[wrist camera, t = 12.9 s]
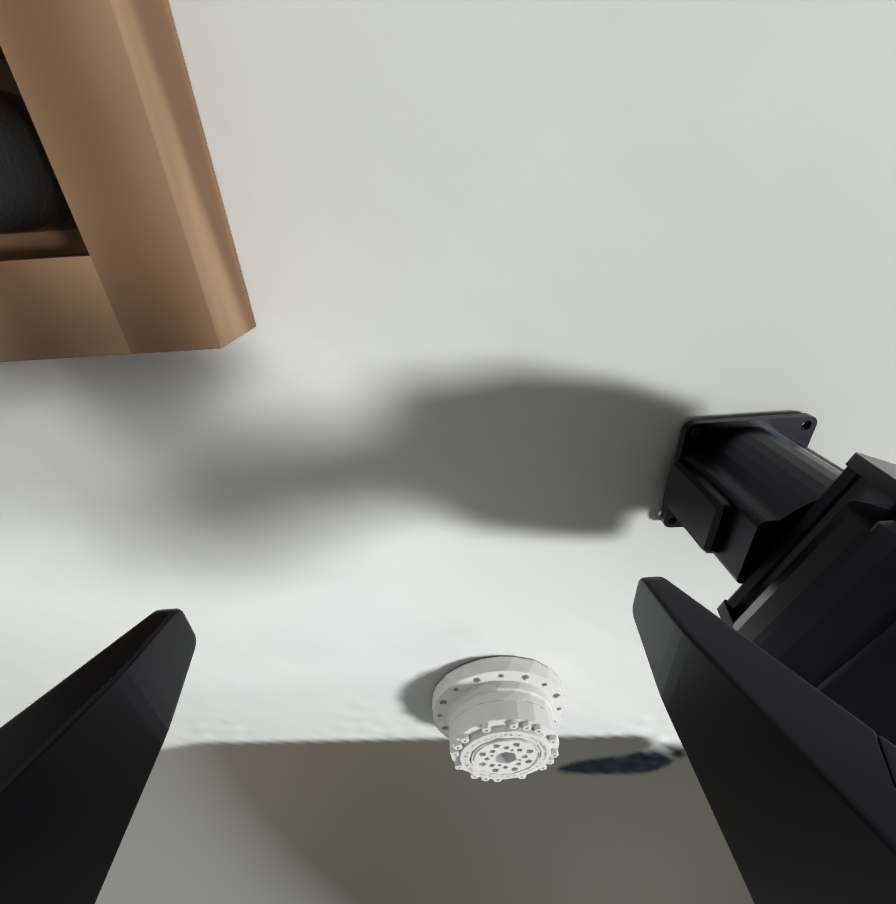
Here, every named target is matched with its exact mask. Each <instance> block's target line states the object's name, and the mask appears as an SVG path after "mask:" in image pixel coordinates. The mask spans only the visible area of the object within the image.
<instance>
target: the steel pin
mask: <svg viewBox="0 0 896 904" xmlns="http://www.w3.org/2000/svg"><path fill="white" fill-rule="evenodd" d="M76 227H77V224H76V222H75V220H74V217H73V215H72V213H71V210H70V208H69V206H68V203H67V201H66V198H65V196H64V194H63V191H62V189H61V187H60V184H59V182H58V180H57V177H56V175H55V173H54V170H53V168H52V166H51V163H50V161H49V159H48V156H47V154H46V152H45V149H44V147H43V144H42V142H41V140H40V137H39V135H38V133H37V130H36V128H35V126H34V123H33V121H32V119H31V116H30V114H29V112H28V109H27V107H26V105H25V102H24V100H23V98H22V96H21V95H18V94H14V93H10V92H7V91H3V90H0V234H16V233H33V232H49V231H63V230H70V229H74V228H76Z"/></svg>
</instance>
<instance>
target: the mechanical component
mask: <svg viewBox="0 0 896 904" xmlns="http://www.w3.org/2000/svg"><path fill="white" fill-rule="evenodd" d="M565 711H566V698H565V694H564V691H563V687H562V684H561V682H560V680H559V678H558V676H557V675H556V674H555V673H554V672H553V671H552V670H551V669H550V668H548V667H546V666H544V665H542V664H540V663H538V662H536V661H534V660H528V659H523V658H518V657H501V656H500V657H492V658H484V659H480V660H476V661H473V662H470V663H467V664H464V665H462V666H460V667H458V668H456V669H455V670H453V671H451V672H449V673H448V674H446V676H445V677H444V678H443V679H442V680H441V681H440V682H439V683H438V684H437V686H436V688H435V690H434V692H433V698H432V713H433V722H434V723H435V725H436V727H437V728H438V730H439V731H440V732H441V733H442V734H444V735H445V736H446V737H448V738H449V739H450V754H451V757H452V759H453V761H454V762H455V769H458V770H460V769H463V770H465V771H468V772H470V773H471V778H473V779H477V778H478V777H481V779H482V780H483V781H488V780H489V779H494V781H495V782H499V781H501V780H502V779H509V778H517V777H518V778H520V779H523V778H525V777H526V774H529V773H532V772H534V771H537V770H538V769H540V770H545V769H547V767H546V763H547V764H553V763H554V759H553V758H555V757H557V756H558V755H559V754H558V746H559V739H558V735H557V731H556V725H557V724H558V723H559V722H560V721H561V719H562V717H563V715H564V714H565Z"/></svg>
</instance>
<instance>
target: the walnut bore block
mask: <svg viewBox="0 0 896 904" xmlns="http://www.w3.org/2000/svg"><path fill="white" fill-rule="evenodd" d="M0 90H3V91H7V92H10V93H14V94H18V95H21V96H22V98H23V100H24V102H25V105H26V107H27V109H28V112H29V114H30V116H31V119H32V121H33V123H34V126H35V128H36V130H37V133H38V135H39V137H40V140H41V142H42V144H43V147H44V149H45V152H46V154H47V156H48V159H49V161H50V163H51V166H52V168H53V170H54V173H55V175H56V177H57V180H58V182H59V184H60V187H61V189H62V191H63V194H64V196H65V198H66V201H67V203H68V206H69V208H70V210H71V213H72V215H73V217H74V220H75V222H76V224H77V227H76V228H74V229H70V230H63V231H49V232H33V233H16V234H0V362H7V361H23V360H40V359H56V358H72V357H89V356H105V355H121V354H138V353H154V352H170V351H186V350H203V349H219V348H222V347H224V346H226V345H227V344H229V343H230V342H232V341H234V340H235V339H237V338H238V337H240V336H242V335H243V334H245V333H246V332H248V331H250V330H251V329H253V328H254V327H256V323H255V320H254V316H253V312H252V309H251V305H250V301H249V298H248V294H247V290H246V286H245V283H244V279H243V275H242V272H241V268H240V264H239V261H238V257H237V253H236V249H235V246H234V242H233V238H232V235H231V231H230V227H229V224H228V220H227V216H226V212H225V209H224V205H223V201H222V198H221V194H220V190H219V187H218V183H217V179H216V175H215V172H214V168H213V164H212V161H211V157H210V153H209V150H208V146H207V142H206V138H205V135H204V131H203V127H202V124H201V120H200V116H199V113H198V109H197V105H196V101H195V98H194V94H193V90H192V87H191V83H190V79H189V76H188V72H187V68H186V64H185V61H184V57H183V53H182V50H181V46H180V42H179V38H178V35H177V31H176V27H175V24H174V20H173V16H172V13H171V9H170V5H169V1H168V0H0Z"/></svg>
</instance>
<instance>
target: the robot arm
mask: <svg viewBox="0 0 896 904" xmlns="http://www.w3.org/2000/svg"><path fill="white" fill-rule="evenodd" d="M804 422H805V423H804ZM803 423H804V424H803ZM802 424H803V425H802ZM801 425H802V426H801ZM816 425H817V420H816V418H815V417H813V416H811V415H809V414H807V413H797V414H781V415H765V416H749V417H733V418H717V419H701V420H692V421H689V422H687V423H686V424H685V425H684V426H683V428H682V431H681V435H680V439H679V443H678V447H677V451H676V455H675V459H674V461H673V463H672V465H671V469H670V473H669V477H668V481H667V485H666V490H665V494H664V498H663V502H664V504H663V508H662V512H661V516H660V519H661V521H662V522H663V524H664V525H665V526H666V527H684V528H685V529H686V530H687V531H688V533H689V534H690V535H691V536H692V538H693V539H694V540H695V541H696V543H697V544H698V545H699V546H700V547H701V549H702V550H704V551H705V552H706V553H713V554H714V555H715V556H716V557H717V558H718V560H719V561H720V562H721V563H722V564H723V565H724V567H725V568H726V569H727V570H728V571H729V573H730V574H731V575H732V576H733V577H734V579H735V580H736V581H737V582H738V583H741V584H742V585H741V586H740V587H739V588H738V589H737V590H736V592H735V593H734V594H733V595H732V596H731V597H730V598H729V599H728V600H724V601H723V602H722V604H721V605H720V606H719V607H718V608H717V610H718V613H719V615H720V618H721V619H720V618H719V617H717V616H716V615H715V614H713V613H712V612H710V611H709V610H708V609H706V608H705V607H704V606H702V605H701V604H699V603H698V602H697V601H695V600H694V599H693V598H691V597H690V596H688V595H687V594H686V593H684V592H683V591H682V590H680V589H679V588H677V587H676V586H675V585H673V584H672V583H671V582H669V581H668V580H666V579H665V578H663V577H645V578H641V579H640V580H639V582H638V586H637V590H636V594H635V599H634V603H633V616H634V620H635V623H636V626H637V629H638V631H639V634H640V637H641V640H642V643H643V646H644V649H645V652H646V655H647V658H648V661H649V664H650V667H651V670H652V673H653V676H654V679H655V682H656V685H657V687H658V690H659V693H660V696H661V698H662V700H663V703H664V705H665V708H666V710H667V712H668V714H669V717H670V719H671V721H672V723H673V725H674V728H675V730H676V732H677V734H678V736H679V739H680V741H681V743H682V745H683V747H684V750H685V752H686V754H687V756H688V758H689V761H690V763H691V765H692V767H693V769H694V771H695V774H696V776H697V778H698V780H699V783H700V785H701V787H702V789H703V791H704V794H705V796H706V798H707V800H708V803H709V805H710V807H711V809H712V811H713V813H714V816H715V818H716V820H717V822H718V825H719V826H720V829H721V831H722V833H723V835H724V838H725V840H726V842H727V844H728V846H729V849H730V851H731V853H732V855H733V857H734V860H735V862H736V864H737V866H738V869H739V871H740V873H741V875H742V877H743V880H744V882H745V884H746V886H747V888H748V891H749V893H750V895H751V897H752V899H753V902H754V904H896V465H895V464H892V463H889V462H886V461H883V460H879V459H876V458H873V457H870V456H867V455H864V454H860V453H857V452H856V453H855V454H854V455H853V456H852V457H851V458H850V460H849V461H848V462H847V463H846V465H847V467H846V469H845V470H844V469H842V468H840V467H839V466H837V465H835V464H834V463H832V462H830V461H829V460H827V459H826V458H824V457H822V456H821V455H819V454H817V453H816V452H814V451H813V450H811V449H809V448H808V447H807V446H808V444H809V442H810V439H811V437H812V434H813V432H814V430H815V427H816ZM695 428H697V429H696V431H695V432H694V433H691V432H692V430H693V429H695ZM671 517H673V518H671ZM670 518H671V519H670ZM195 646H196V637H195V634H194V632H193V630H192V628H191V626H190V624H189V622H188V620H187V618H186V616H185V615H184V613H183V611H181V610H180V609H162V610H157V611H155V612H153V613H152V614H150V615H149V616H148V617H147V618H145V619H144V620H143V621H141V622H140V623H139V624H137V625H136V626H135V627H133V628H132V629H131V630H129V631H128V632H127V633H125V634H124V635H123V636H121V637H120V638H119V639H117V640H116V641H115V642H113V643H112V644H111V645H109V646H108V647H107V648H105V649H104V650H103V651H101V652H100V653H99V654H97V655H96V656H95V657H94V658H92V659H91V660H90V661H88V662H87V663H86V664H84V665H83V666H82V667H80V668H79V669H78V670H76V671H75V672H74V673H72V674H71V675H70V676H68V677H67V678H66V679H64V680H63V681H62V682H60V683H59V684H58V685H56V686H55V687H54V688H52V689H51V690H50V691H48V692H47V693H46V694H44V695H43V696H42V697H41V698H39V699H38V700H37V701H35V702H34V703H33V704H31V705H30V706H29V707H27V708H26V709H25V710H23V711H22V712H21V713H19V714H18V715H17V716H15V717H14V718H13V719H11V720H10V721H9V722H7V723H6V724H5V725H3V726H2V727H1V728H0V904H95V902H96V899H97V897H98V895H99V892H100V890H101V888H102V885H103V883H104V881H105V878H106V876H107V874H108V871H109V869H110V866H111V864H112V862H113V860H114V857H115V855H116V852H117V850H118V848H119V845H120V843H121V841H122V838H123V836H124V834H125V831H126V829H127V827H128V824H129V822H130V820H131V817H132V815H133V813H134V810H135V808H136V805H137V803H138V801H139V798H140V796H141V794H142V791H143V789H144V787H145V785H146V782H147V780H148V777H149V775H150V773H151V770H152V768H153V766H154V763H155V761H156V759H157V756H158V754H159V752H160V749H161V747H162V745H163V742H164V740H165V737H166V735H167V732H168V730H169V727H170V724H171V721H172V718H173V715H174V712H175V709H176V706H177V703H178V700H179V697H180V694H181V691H182V687H183V684H184V681H185V678H186V675H187V672H188V669H189V666H190V663H191V659H192V656H193V653H194V650H195Z"/></svg>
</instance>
